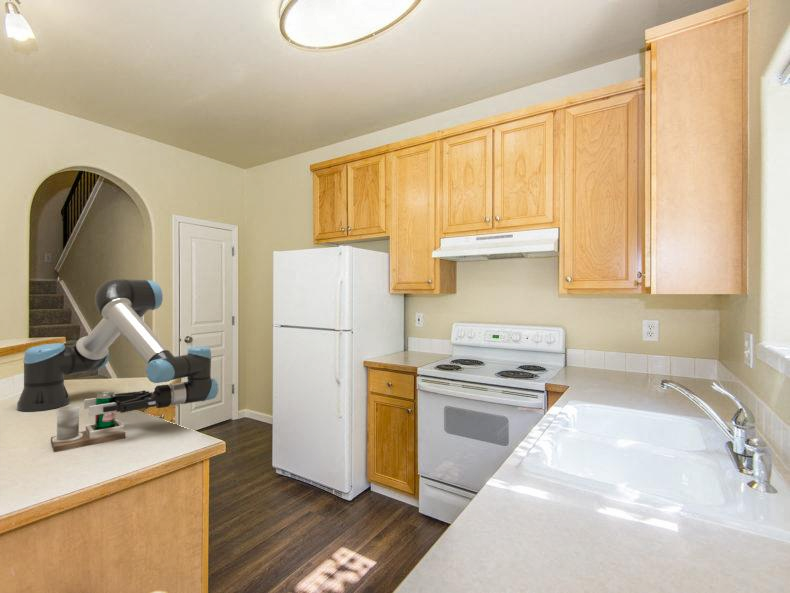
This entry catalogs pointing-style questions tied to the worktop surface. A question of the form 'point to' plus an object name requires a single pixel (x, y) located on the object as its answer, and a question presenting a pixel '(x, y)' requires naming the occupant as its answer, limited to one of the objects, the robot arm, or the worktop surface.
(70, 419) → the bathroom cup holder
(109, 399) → the soda can
